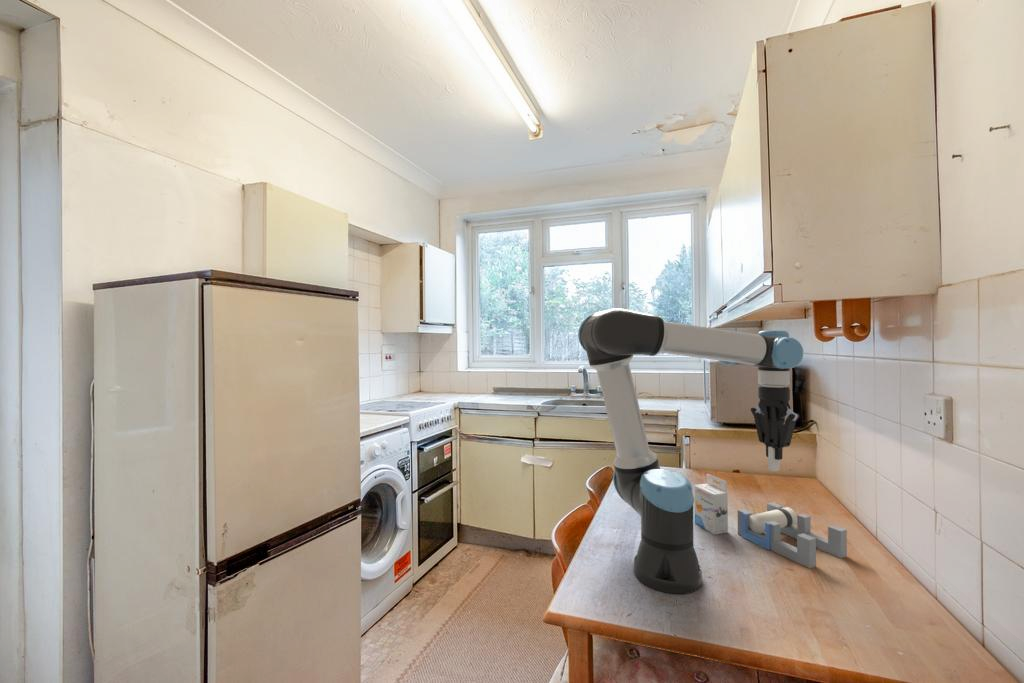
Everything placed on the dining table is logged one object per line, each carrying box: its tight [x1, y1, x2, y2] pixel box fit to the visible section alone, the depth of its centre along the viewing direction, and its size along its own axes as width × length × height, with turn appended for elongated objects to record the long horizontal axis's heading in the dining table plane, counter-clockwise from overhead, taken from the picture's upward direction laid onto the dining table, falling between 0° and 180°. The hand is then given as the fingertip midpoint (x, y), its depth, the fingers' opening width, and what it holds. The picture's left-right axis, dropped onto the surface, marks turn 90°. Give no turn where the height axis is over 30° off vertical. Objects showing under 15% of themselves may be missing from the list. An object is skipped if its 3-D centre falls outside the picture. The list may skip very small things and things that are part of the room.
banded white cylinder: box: [748, 506, 798, 534], centre depth 119 cm, size 14×5×5 cm, turn 112°
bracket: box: [737, 501, 848, 569], centre depth 115 cm, size 16×20×7 cm
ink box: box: [693, 473, 729, 536], centre depth 125 cm, size 8×5×15 cm, turn 17°
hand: (774, 470), depth 118 cm, fingers closed
